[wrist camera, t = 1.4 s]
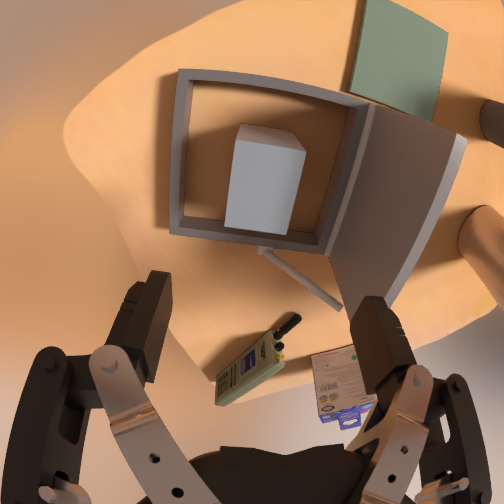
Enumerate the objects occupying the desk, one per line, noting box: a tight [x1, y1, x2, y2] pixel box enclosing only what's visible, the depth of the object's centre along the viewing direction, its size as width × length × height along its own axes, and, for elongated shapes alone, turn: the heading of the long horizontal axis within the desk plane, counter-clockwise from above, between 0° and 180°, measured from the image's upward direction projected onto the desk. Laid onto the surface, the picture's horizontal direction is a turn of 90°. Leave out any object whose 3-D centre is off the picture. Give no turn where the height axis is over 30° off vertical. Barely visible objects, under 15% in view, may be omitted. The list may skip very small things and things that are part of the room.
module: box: [224, 124, 307, 235], centre depth 23 cm, size 5×7×8 cm
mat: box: [348, 0, 448, 122], centre depth 18 cm, size 10×12×1 cm
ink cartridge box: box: [311, 345, 377, 430], centre depth 40 cm, size 10×6×14 cm, turn 110°
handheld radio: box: [215, 314, 302, 406], centre depth 43 cm, size 7×3×25 cm
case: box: [169, 69, 468, 322], centre depth 21 cm, size 18×18×14 cm
